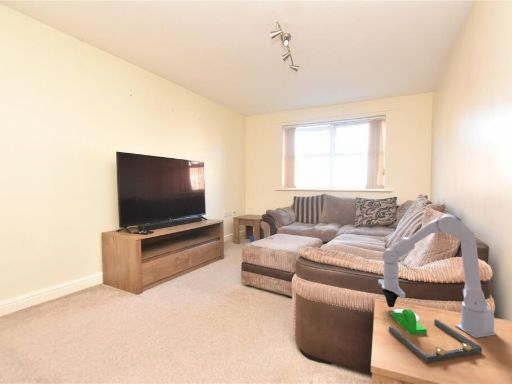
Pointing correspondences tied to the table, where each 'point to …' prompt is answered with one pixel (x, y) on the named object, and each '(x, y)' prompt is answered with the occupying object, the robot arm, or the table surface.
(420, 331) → the mechanical part
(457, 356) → the grey frame
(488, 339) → the table surface
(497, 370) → the table surface
